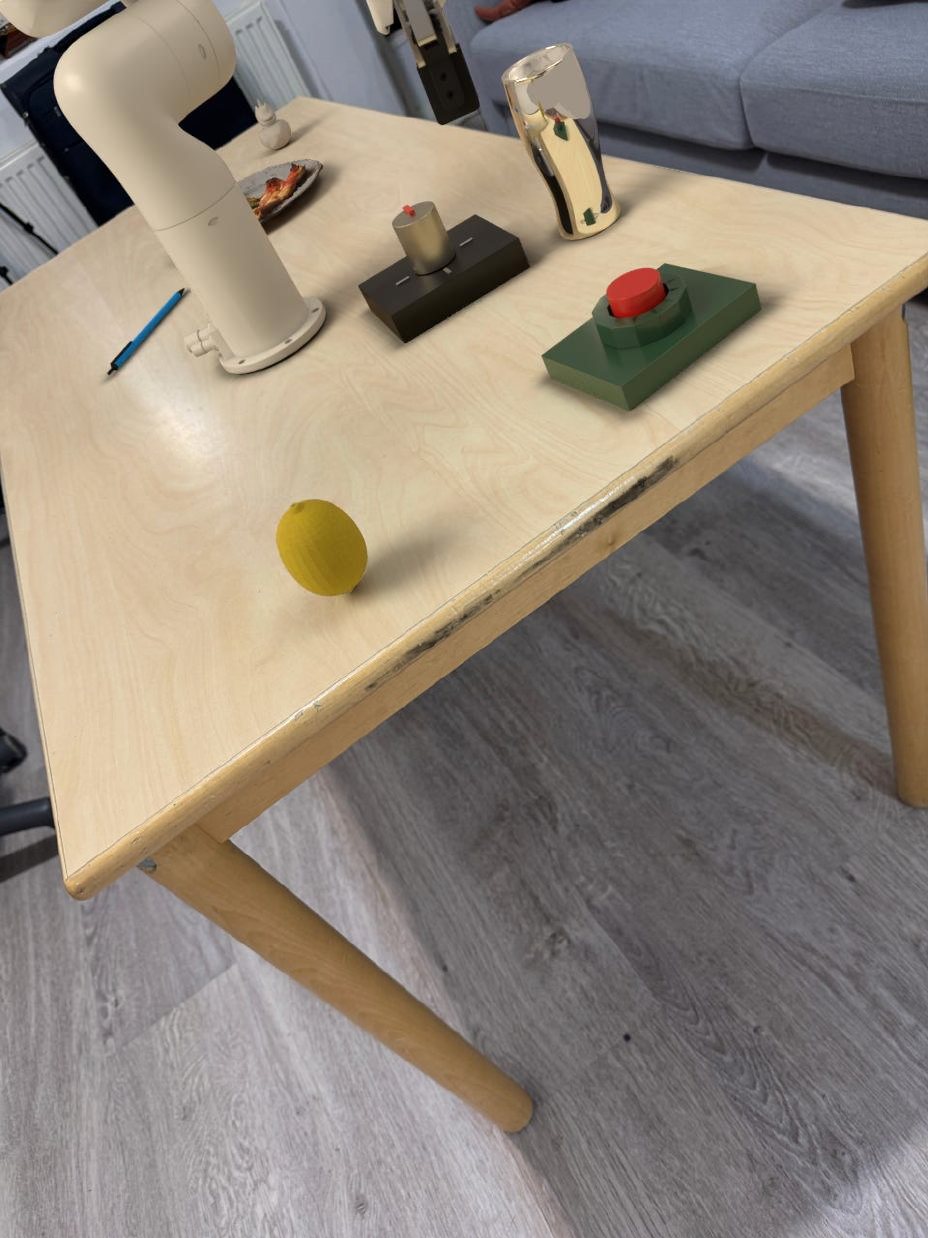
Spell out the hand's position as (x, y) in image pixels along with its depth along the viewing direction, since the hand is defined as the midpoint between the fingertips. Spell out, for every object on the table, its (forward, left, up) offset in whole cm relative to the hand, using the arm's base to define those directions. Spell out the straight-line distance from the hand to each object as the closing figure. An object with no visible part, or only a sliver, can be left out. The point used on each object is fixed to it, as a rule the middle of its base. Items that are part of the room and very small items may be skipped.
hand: (459, 113), depth 69 cm
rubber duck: (-36, +100, -19) cm, 108 cm away
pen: (-49, +43, -19) cm, 68 cm away
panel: (-9, +18, -19) cm, 27 cm away
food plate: (-38, +70, -19) cm, 82 cm away
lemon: (-18, -23, -19) cm, 35 cm away
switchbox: (+7, -7, -19) cm, 21 cm away
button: (+7, -7, -15) cm, 18 cm away
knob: (-9, +18, -16) cm, 25 cm away
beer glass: (+6, +19, -19) cm, 28 cm away
